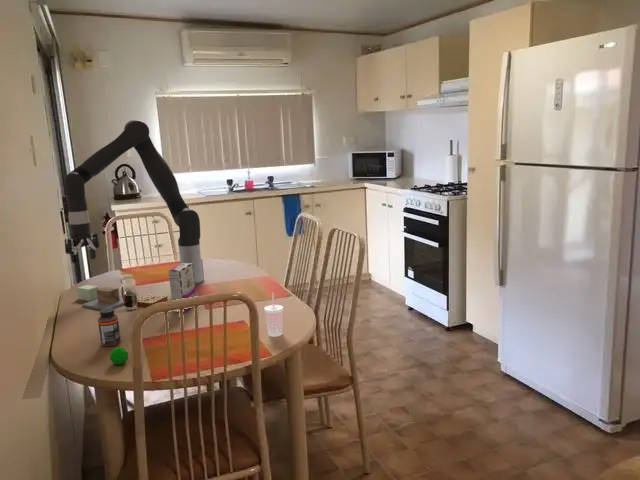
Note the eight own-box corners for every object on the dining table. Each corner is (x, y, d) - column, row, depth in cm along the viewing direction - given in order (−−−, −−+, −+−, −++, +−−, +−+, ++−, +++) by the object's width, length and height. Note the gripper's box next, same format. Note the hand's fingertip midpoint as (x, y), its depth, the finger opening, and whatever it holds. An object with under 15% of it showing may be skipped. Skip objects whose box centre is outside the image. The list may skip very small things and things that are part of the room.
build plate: (110, 296, 222) (110, 294, 222) (135, 300, 215) (135, 298, 215) (82, 306, 210) (82, 304, 210) (107, 311, 203) (107, 308, 203)
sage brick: (88, 296, 224) (86, 284, 223) (99, 298, 221) (97, 286, 220) (79, 299, 221) (77, 287, 220) (90, 301, 217) (88, 289, 216)
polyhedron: (116, 360, 158) (114, 345, 157) (131, 360, 157) (130, 344, 156) (107, 367, 153) (105, 351, 152) (124, 367, 152) (122, 351, 151)
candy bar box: (185, 303, 209) (181, 262, 206) (197, 303, 208) (193, 262, 205) (171, 312, 199) (167, 270, 195) (184, 313, 198) (180, 270, 194)
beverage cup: (282, 337, 170) (279, 295, 167) (263, 337, 171) (260, 295, 168) (286, 330, 176) (284, 290, 173) (268, 330, 177) (266, 289, 174)
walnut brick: (107, 298, 216) (105, 286, 215) (119, 300, 213) (118, 288, 212) (98, 301, 212) (96, 289, 211) (110, 303, 209) (109, 291, 208)
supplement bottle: (104, 340, 173) (100, 307, 171) (123, 339, 174) (119, 306, 171) (98, 348, 167) (94, 313, 165) (117, 346, 168) (113, 312, 166)
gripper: (70, 225, 206) (75, 266, 210) (100, 219, 219) (104, 258, 222) (57, 224, 210) (62, 264, 213) (87, 218, 222) (92, 256, 225)
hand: (84, 261), depth 218 cm, fingers open, 8 cm apart
